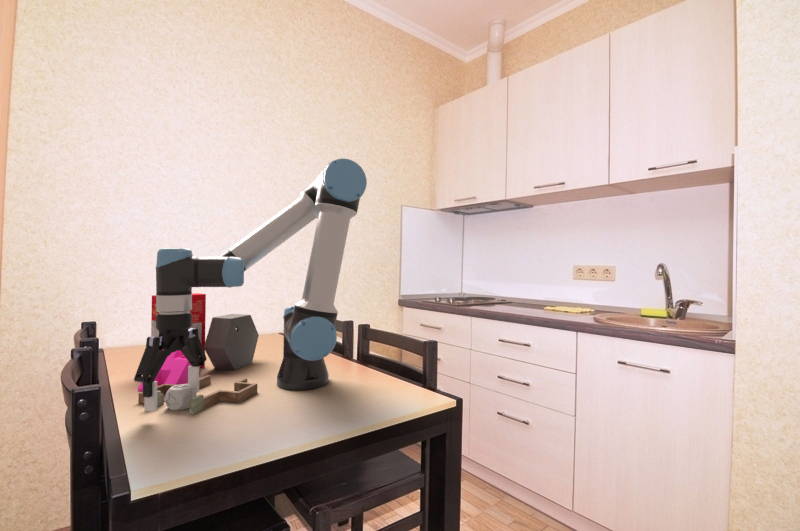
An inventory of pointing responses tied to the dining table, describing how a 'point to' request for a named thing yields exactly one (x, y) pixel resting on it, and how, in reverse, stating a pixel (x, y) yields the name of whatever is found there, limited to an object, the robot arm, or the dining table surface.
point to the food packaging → (197, 317)
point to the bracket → (172, 370)
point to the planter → (231, 341)
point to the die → (179, 396)
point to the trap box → (200, 402)
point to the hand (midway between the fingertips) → (173, 400)
